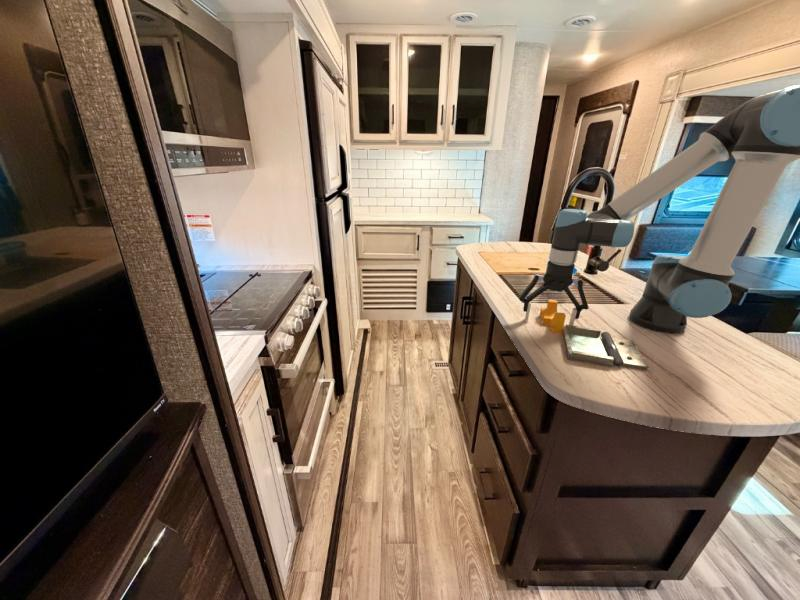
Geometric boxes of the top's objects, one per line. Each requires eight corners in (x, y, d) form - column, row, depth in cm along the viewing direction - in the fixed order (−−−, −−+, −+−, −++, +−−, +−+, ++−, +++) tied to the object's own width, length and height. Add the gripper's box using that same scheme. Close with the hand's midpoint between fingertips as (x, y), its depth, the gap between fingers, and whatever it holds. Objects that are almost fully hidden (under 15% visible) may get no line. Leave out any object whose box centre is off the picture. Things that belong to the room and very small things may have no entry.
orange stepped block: (539, 316, 112) (542, 299, 110) (552, 317, 112) (556, 300, 109) (546, 332, 102) (550, 314, 99) (561, 334, 101) (565, 315, 98)
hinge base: (630, 341, 97) (632, 334, 96) (649, 373, 82) (652, 365, 81) (561, 330, 102) (562, 324, 101) (567, 359, 88) (569, 352, 87)
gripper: (605, 262, 97) (588, 324, 106) (518, 254, 105) (509, 312, 113) (611, 270, 91) (592, 335, 99) (518, 261, 98) (508, 322, 107)
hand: (547, 323), depth 106 cm, fingers open, 13 cm apart
